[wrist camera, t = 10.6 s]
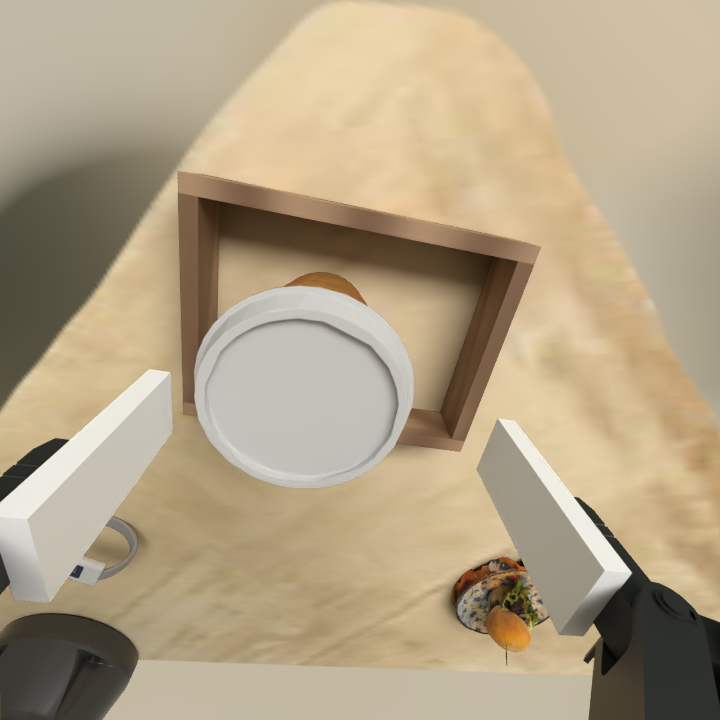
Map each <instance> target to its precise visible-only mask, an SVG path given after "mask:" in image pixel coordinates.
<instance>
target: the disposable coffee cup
mask: <svg viewBox="0 0 720 720" xmlns="http://www.w3.org/2000/svg"><path fill="white" fill-rule="evenodd" d="M194 381H195V395H194V399H195V404H196V409H197V414H198V419H199V422H200V423H201V425H202V427H203V429H204V431H205V433H206V435H207V437H208V439H209V441H210V443H211V444H212V445H213V446H214V447H215V448H216V449H217V450H218V451H219V452H220V453H221V454H222V455H223V456H224V457H225V458H226V459H227V460H228V461H229V462H230V463H231V464H233V465H235V466H236V467H238V468H239V469H241V470H243V471H244V472H246V473H247V474H249V475H251V476H252V477H255V478H257V479H260V480H263V481H266V482H269V483H271V484H274V485H280V486H285V487H291V488H323V487H327V486H332V485H336V484H341V483H344V482H346V481H349V480H351V479H354V478H357V477H359V476H361V475H362V474H364V473H366V472H367V471H369V470H371V469H372V468H373V467H374V466H376V465H377V464H378V463H379V462H381V461H382V460H383V459H384V457H385V456H386V455H387V454H388V453H389V452H390V451H391V450H392V449H393V447H394V446H395V444H396V442H397V440H398V438H399V436H400V434H401V432H402V430H403V428H404V425H405V423H406V421H407V418H408V416H409V413H410V411H411V408H412V403H413V395H414V387H415V386H414V377H413V368H412V365H411V362H410V359H409V356H408V353H407V351H406V349H405V347H404V345H403V343H402V341H401V340H400V338H399V336H398V335H397V333H396V332H395V331H394V330H393V329H392V327H391V326H390V325H389V324H388V323H387V322H386V321H385V319H383V318H382V317H381V316H380V315H379V314H377V313H376V312H375V311H374V310H373V309H371V308H370V307H368V305H367V304H366V302H365V301H364V300H363V298H362V297H361V295H360V294H359V292H358V291H357V289H356V288H355V287H354V286H353V285H352V284H351V283H349V282H348V281H347V280H346V279H344V278H342V277H340V276H338V275H334V274H330V273H326V272H316V273H310V274H306V275H304V276H301V277H299V278H297V279H296V280H294V281H293V282H291V283H289V284H287V285H286V286H284V287H280V288H274V289H270V290H267V291H264V292H261V293H258V294H255V295H252V296H250V297H248V298H246V299H244V300H243V301H241V302H239V303H237V304H236V305H234V306H233V307H231V308H229V309H228V310H227V311H226V312H225V313H224V314H223V315H222V316H221V317H220V318H219V319H218V320H217V321H216V322H215V323H214V324H213V325H212V327H211V328H210V330H209V331H208V333H207V334H206V336H205V337H204V339H203V341H202V344H201V346H200V349H199V351H198V353H197V358H196V364H195V369H194Z"/></svg>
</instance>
